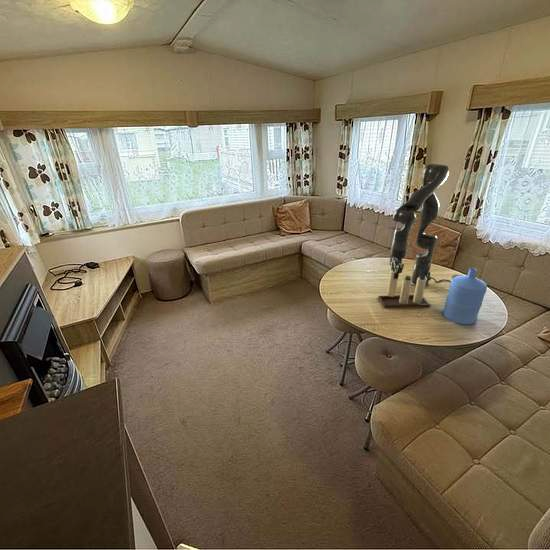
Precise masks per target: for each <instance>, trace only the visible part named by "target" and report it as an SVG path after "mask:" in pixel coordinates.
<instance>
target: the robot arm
mask: <svg viewBox="0 0 550 550" xmlns="http://www.w3.org/2000/svg"><path fill="white" fill-rule="evenodd" d="M449 174H450V167H449V165H446V164H439V163H427V165H425V167H424V169H423V173H422V187H421V188H418V189H417V190H416V191H415V192H413V194H411V196H410V197H409V199H407V201H406V202H405V203H403V204H401V206H400V207H398V208H397V209H396V210H395V211H394V213H393V215H392V220H393V222H394V223H396V224H399V225H403V227H396V228H395V229H394V231H393V238H392V242H391V248H390V253H389V254H390V255H389V266H390V271H391V270H392V269H393V268H395V273H394V279H398V280H399V277H398V276H400V274H402V273H403V271H404V268H405V264H404V263H403V259H404V258H405V257H406V254H407V248H408V240H409V235H410V231H412V228H413V225H414V224H415V221H416V218H417V216H416V212H418V211H419V210H420V211H419V223H418V230H417V235H416V240H415V246H416V248H417V249H421V250H425V252H418V253H417V254H416V255H415V259H414V264H413V269H412V275H411V279H412V284H411V286H415V287H416V283H417V279H418V277H420V276H421V275H423V276H425V278H426V279H427V280H426V285H425V287H426V286H428V285H429V282H430V281H431V280H434V282H435V283H440V282H442V281H445V282H450V283H451V281H452V280H450V279H445V278H444V279H443V278H442V279H440V280H436V278H434V277H432V276H431V274H432V273H431V266H432V263H433V262H432V261H433V258H434V253H435V250H436V247H437V243H438V236H437V235H434V234H428V233H426V230H427V228H428V227H429V226H430V225H431V224H432V223H433V222H434V221H435V220H436V219H437V218H438V217H439V216H438V215H439V211H440V202H439V199H438V198H437V195H436V193H435V191H436V190H438V188H440V187H441V186H442V185H443V184H444V183H445V181H446V180H447V178H448V176H449Z"/></svg>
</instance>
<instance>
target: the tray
mask: <svg viewBox="0 0 550 550" xmlns="http://www.w3.org/2000/svg"><path fill="white" fill-rule="evenodd" d="M377 298H378V300H379V302H380V303H381V305H382V307H383V308H384V309H386V308H387V309H388V308H391V309H392V308H429V307H431V304H430V302H429V301H428V300H427V299H426V298H425V296H423V298H422V302H421V304H416V303H414V302H413V298H414V294H409V298H408V303H407V304H401V303H400V302H399V299H400V294H399V295H396V294H395V296H394V297H390V296H388V295H378V297H377Z"/></svg>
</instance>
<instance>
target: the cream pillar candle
mask: <svg viewBox="0 0 550 550" xmlns="http://www.w3.org/2000/svg"><path fill="white" fill-rule="evenodd" d="M394 273H395V268H393V269H392V270H391V269H390V271H389V277H388V282H387V289H386V296H390V297H394V296H396V293H397V287H398V281H399V278H400V277H399V276H400V275H399V276H398V279H394Z"/></svg>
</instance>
